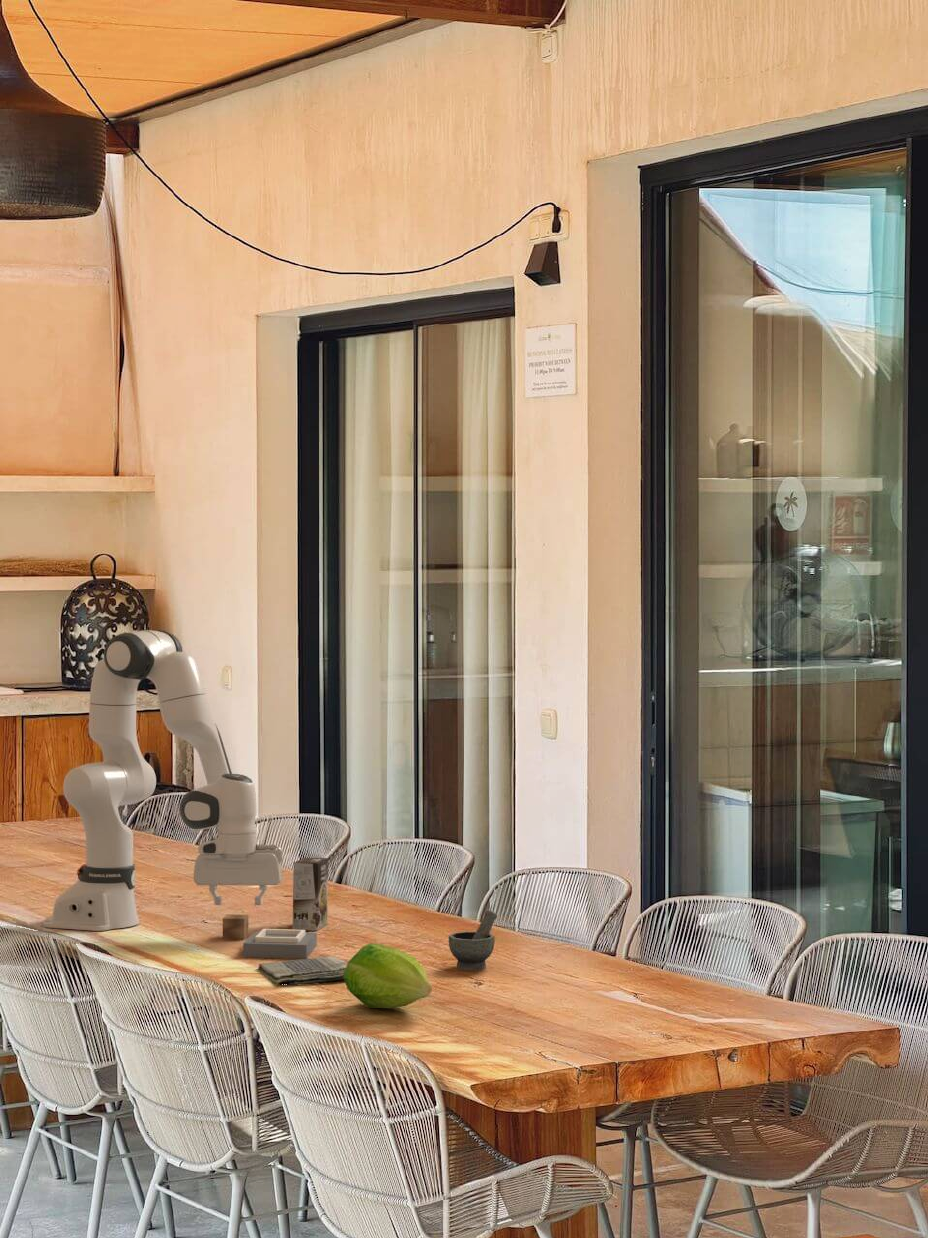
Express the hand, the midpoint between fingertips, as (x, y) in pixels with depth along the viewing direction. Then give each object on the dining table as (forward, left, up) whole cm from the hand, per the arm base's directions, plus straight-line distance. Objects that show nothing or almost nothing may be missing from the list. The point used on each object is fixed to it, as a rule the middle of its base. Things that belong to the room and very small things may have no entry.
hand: (238, 904), depth 416 cm
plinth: (+12, -14, -8) cm, 20 cm away
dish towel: (+22, -37, -9) cm, 44 cm away
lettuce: (+43, -66, -8) cm, 79 cm away
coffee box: (+14, +15, -8) cm, 22 cm away
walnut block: (-1, 0, -8) cm, 8 cm away
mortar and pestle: (+56, -25, -8) cm, 62 cm away
